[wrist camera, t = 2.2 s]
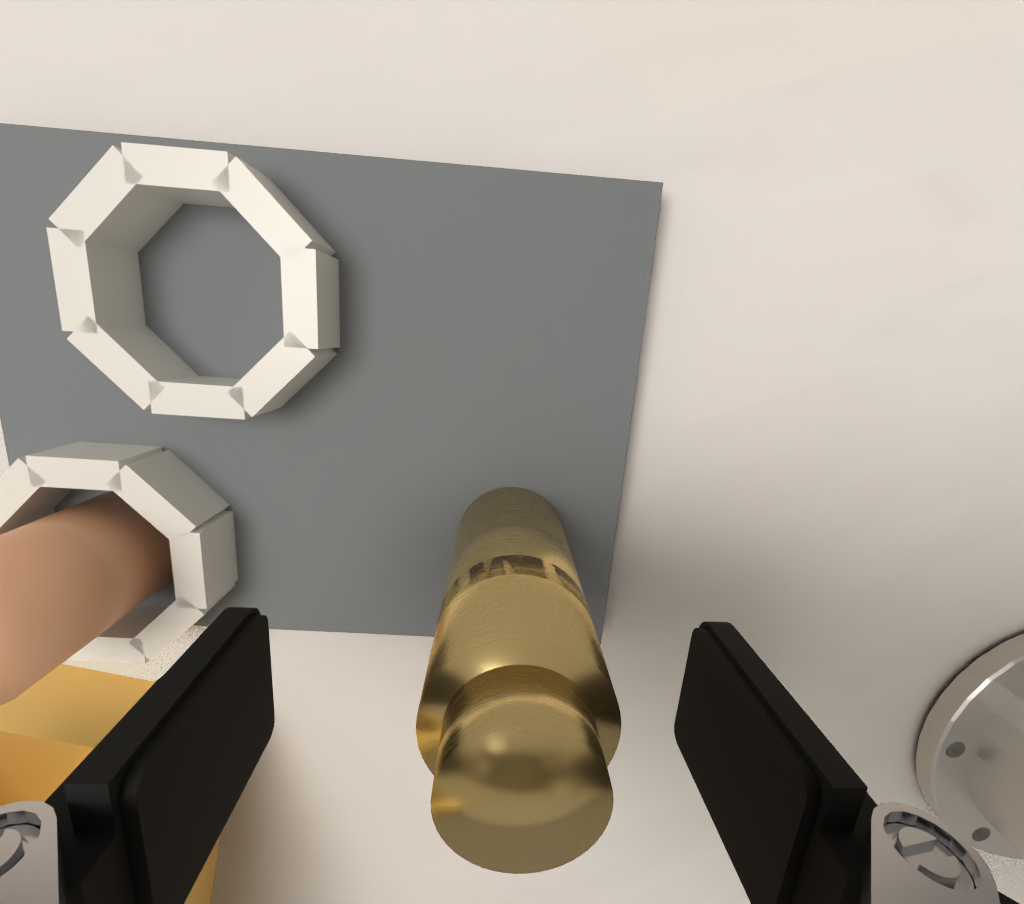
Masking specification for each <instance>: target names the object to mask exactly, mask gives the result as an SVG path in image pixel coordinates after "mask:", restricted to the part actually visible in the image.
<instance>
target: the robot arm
mask: <svg viewBox="0 0 1024 904" xmlns="http://www.w3.org/2000/svg"><path fill="white" fill-rule="evenodd" d="M273 727H274V702H273V687H272V672H271V657H270V641H269V626H268V618H267V616H265V615H260V611H259V609H257V608H249V607H227V608H226V609H225V610H223V611H222V612H221V614H220V615H219V616H218V617H217V618H216V619H215V620H214V621H213V622H212V623H211V624H210V626H209V627H208V628H207V629H206V630H205V631H204V632H203V633H202V634H201V635H200V636H199V637H198V639H197V640H196V641H195V642H194V643H193V644H192V645H191V646H190V647H189V648H188V649H187V650H186V652H185V653H184V654H183V655H182V656H181V657H180V658H179V659H178V660H177V661H176V662H175V664H174V665H173V666H172V667H171V668H170V669H169V670H168V671H167V672H166V673H165V674H164V675H163V676H162V677H161V678H160V679H158V680H157V681H156V682H155V683H154V684H153V685H152V686H151V687H150V688H149V690H148V691H147V692H146V693H145V694H144V695H143V696H142V697H141V698H140V699H139V700H138V701H137V703H136V704H135V705H134V706H133V707H132V708H131V709H130V710H129V711H128V712H127V713H126V714H125V715H124V717H123V718H122V719H121V720H120V721H119V722H118V723H117V724H116V725H115V726H114V727H113V728H112V729H111V731H110V732H109V733H108V734H107V735H106V736H105V737H104V738H103V739H102V740H101V741H100V742H99V744H98V745H97V746H96V747H95V748H94V749H93V750H92V751H91V752H90V753H89V754H88V755H87V756H86V758H85V759H84V760H83V761H82V762H81V763H80V764H79V765H78V766H77V767H76V768H75V769H74V771H73V772H72V773H71V774H70V775H69V776H68V777H67V778H66V779H65V780H64V781H63V782H62V783H61V785H60V786H59V787H58V788H57V789H56V790H55V791H54V792H53V793H52V794H51V795H50V796H49V798H48V799H47V800H46V801H45V802H42V801H30V800H26V801H21V802H15V803H9V804H6V805H3V806H0V904H184V903H185V901H186V899H187V897H188V895H189V893H190V891H191V889H192V888H193V886H194V884H195V882H196V880H197V878H198V876H199V874H200V872H201V870H202V868H203V866H204V865H205V863H206V861H207V859H208V857H209V855H210V853H211V851H212V849H213V847H214V845H215V843H216V841H217V840H218V838H219V836H220V834H221V832H222V830H223V828H224V826H225V824H226V822H227V820H228V818H229V816H230V815H231V813H232V811H233V809H234V807H235V805H236V803H237V801H238V799H239V797H240V795H241V793H242V792H243V790H244V788H245V786H246V784H247V782H248V780H249V778H250V776H251V774H252V772H253V770H254V768H255V767H256V765H257V763H258V761H259V759H260V757H261V755H262V753H263V751H264V749H265V747H266V745H267V744H268V742H269V740H270V737H271V735H272V732H273ZM674 732H675V738H676V741H677V744H678V746H679V749H680V751H681V753H682V755H683V757H684V759H685V762H686V764H687V766H688V768H689V770H690V772H691V775H692V777H693V779H694V781H695V783H696V785H697V788H698V790H699V792H700V794H701V796H702V798H703V801H704V803H705V805H706V807H707V809H708V811H709V813H710V816H711V818H712V820H713V822H714V824H715V826H716V829H717V831H718V833H719V835H720V837H721V839H722V842H723V844H724V846H725V848H726V850H727V852H728V855H729V857H730V859H731V861H732V863H733V865H734V868H735V870H736V872H737V874H738V876H739V878H740V881H741V883H742V885H743V887H744V889H745V891H746V894H747V896H748V898H749V900H750V902H751V904H1019V903H1017V902H1016V901H1014V900H1012V899H1010V898H1009V897H1007V896H1005V895H1004V894H1002V893H1000V892H998V891H997V887H996V883H995V880H994V878H993V876H992V873H991V871H990V869H989V867H988V866H987V864H986V863H985V862H984V860H983V859H982V857H981V856H980V855H979V853H978V852H977V851H976V850H975V849H974V848H973V847H975V848H978V849H980V850H983V851H985V852H988V853H990V854H995V855H1000V856H1005V857H1010V858H1019V859H1024V633H1023V634H1021V635H1018V636H1016V637H1014V638H1011V639H1009V640H1007V641H1005V642H1003V643H1001V644H1000V645H998V646H996V647H995V648H993V649H991V650H990V651H988V652H987V653H985V654H983V655H982V656H980V657H979V658H978V659H976V660H975V661H974V662H973V663H972V664H970V665H969V666H968V667H967V668H966V669H964V670H963V671H962V672H961V673H960V674H958V675H957V677H956V678H955V679H954V680H953V681H952V682H951V683H950V685H949V686H948V687H947V688H946V689H945V690H944V691H943V692H942V694H941V695H940V696H939V698H938V700H937V701H936V703H935V704H934V706H933V708H932V709H931V711H930V712H929V714H928V716H927V718H926V721H925V723H924V726H923V728H922V731H921V733H920V736H919V741H918V747H917V753H916V774H917V780H918V783H919V786H920V789H921V792H922V795H923V797H924V799H925V800H926V802H927V803H928V805H929V806H930V808H931V809H932V811H933V812H934V813H935V814H936V815H937V816H938V817H939V818H940V819H941V820H942V821H943V822H942V821H940V820H938V819H937V818H935V817H933V816H932V815H930V814H928V813H926V812H924V811H922V810H919V809H917V808H914V807H912V806H909V805H906V804H901V803H896V802H888V803H881V804H880V805H877V804H876V803H875V802H874V801H873V799H872V798H871V797H870V796H869V794H868V793H867V792H866V791H867V788H868V787H867V786H866V785H865V784H864V782H863V781H862V780H861V779H860V778H859V776H858V775H857V774H856V773H855V772H854V770H853V769H852V768H851V767H850V766H849V764H848V763H847V762H846V761H845V760H844V758H843V757H842V756H841V755H840V754H839V752H838V751H837V750H836V749H835V748H834V746H833V745H832V744H831V743H830V742H829V740H828V739H827V738H826V737H825V735H824V734H823V733H822V732H821V731H820V729H819V728H818V727H817V726H816V725H815V723H814V722H813V721H812V720H811V719H810V717H809V716H808V715H807V714H806V713H805V711H804V710H803V709H802V708H801V707H800V705H799V704H798V703H797V702H796V701H795V699H794V698H793V697H792V696H791V695H790V693H789V692H788V691H787V690H786V689H785V687H784V686H783V685H782V684H781V683H780V681H779V680H778V679H777V678H776V677H775V675H774V674H773V673H772V672H771V671H770V669H769V668H768V667H767V666H766V665H765V663H764V662H763V661H762V660H761V659H760V657H759V656H758V655H757V654H756V653H755V651H754V650H753V649H752V648H751V647H750V645H749V644H748V643H747V642H746V641H745V639H744V638H743V637H742V636H741V635H740V633H739V632H738V631H737V630H736V629H735V627H734V626H733V625H732V624H731V623H728V622H702V623H701V625H700V627H699V628H695V629H694V630H693V633H692V637H691V642H690V647H689V652H688V658H687V663H686V668H685V673H684V678H683V683H682V688H681V693H680V699H679V704H678V709H677V714H676V719H675V725H674ZM972 846H973V847H972Z"/></svg>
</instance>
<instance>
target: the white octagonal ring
mask: <svg viewBox="0 0 1024 904" xmlns="http://www.w3.org/2000/svg"><path fill="white" fill-rule="evenodd" d="M121 148H122V149H119V148H117V147H115V146H113V145H112V146H111V148H110V149H109V150H108V151H107V152H106V153H105V155H104V156H103V157H102V158H101V159H100V160H99V161H98V163H97V164H96V165H95V166H94V167H93V168H92V169H91V171H90V172H89V173H88V174H87V175H86V176H85V177H84V179H83V180H82V181H81V182H80V183H79V184H78V185H77V187H76V188H75V189H74V190H73V191H72V192H71V194H70V195H69V196H68V197H67V198H66V199H65V200H64V202H63V203H62V204H61V205H60V206H59V207H58V208H57V210H56V211H55V212H54V213H53V214H52V215H51V216H50V218H49V220H50V221H51V222H52V223H53V224H54V225H55V226H56V227H57V228H48V227H46V229H47V235H48V242H49V248H50V255H51V261H52V268H53V274H54V281H55V287H56V294H57V300H58V307H59V313H60V320H61V326H62V331H72V332H73V333H72V334H71V335H70V336H69V337H68V338H67V340H68V341H69V342H71V343H72V344H73V345H74V346H75V347H76V348H77V349H78V350H79V351H80V352H81V353H82V354H84V355H85V356H86V357H87V358H88V359H89V360H90V361H91V362H92V363H93V364H94V365H95V366H97V367H98V368H99V369H100V370H101V371H102V372H103V373H104V374H105V375H106V376H107V377H108V378H110V379H111V380H112V381H113V382H114V383H115V384H116V385H117V386H118V387H119V388H120V389H121V390H123V391H124V392H125V393H126V394H127V395H128V396H129V397H130V398H131V399H132V400H133V401H135V402H136V403H137V404H138V405H139V406H140V407H141V408H142V409H143V410H146V409H151V412H152V414H167V415H182V416H197V417H212V418H227V419H243V420H245V419H248V418H251V417H254V416H257V415H260V414H263V413H266V412H269V411H272V410H275V409H278V408H281V407H282V406H283V405H284V404H285V403H286V402H287V401H288V400H289V399H290V398H292V397H293V396H294V395H295V394H296V393H297V392H298V391H299V390H300V389H301V388H302V387H303V386H304V385H305V384H306V383H307V382H308V381H309V380H310V379H312V378H313V377H314V376H315V375H316V374H317V373H318V372H319V371H320V370H321V369H322V368H323V367H324V366H325V365H326V364H327V363H328V362H329V361H330V360H332V359H333V358H334V357H335V356H336V355H337V353H336V352H335V351H334V350H333V349H332V348H339V347H340V310H339V260H338V259H336V258H334V257H331V256H332V255H333V254H334V253H335V251H334V250H333V249H332V247H331V246H330V245H329V244H328V243H327V242H326V241H325V240H324V239H323V237H322V236H321V235H320V234H319V233H318V232H317V231H316V230H315V228H314V227H313V226H312V225H311V224H310V223H309V222H308V221H307V219H306V218H305V217H304V216H303V215H302V214H301V213H300V212H299V211H298V209H297V208H296V207H295V206H294V205H293V204H292V203H291V202H290V200H289V199H288V198H287V197H286V196H285V195H284V194H283V193H282V192H281V190H280V189H279V188H278V187H277V186H276V185H275V184H274V183H273V181H272V180H271V179H269V178H268V177H266V176H265V175H263V174H262V173H260V172H259V171H257V170H256V169H254V168H253V167H251V166H250V165H248V164H247V163H246V162H244V161H243V160H241V159H240V158H238V157H237V156H236V157H235V156H233V155H232V154H230V153H229V152H227V151H216V150H205V149H194V148H182V147H171V146H160V145H149V144H137V143H126V142H121ZM183 203H184V204H195V205H207V206H219V207H231V208H236V209H237V211H238V212H239V213H240V214H241V215H242V216H243V217H244V218H245V219H246V220H247V221H248V222H249V224H250V225H251V226H252V227H253V228H254V229H255V230H256V231H257V232H258V233H259V234H260V235H261V236H262V238H263V239H264V240H265V241H266V242H267V243H268V244H269V245H270V246H271V247H272V248H273V249H274V251H275V252H276V253H277V254H278V255H279V256H280V261H281V284H282V307H283V330H284V337H283V338H282V339H281V340H280V341H279V342H278V343H277V344H276V345H275V346H274V347H273V348H272V349H271V350H270V351H269V352H268V353H267V354H266V355H265V356H264V357H263V358H262V359H261V360H260V361H259V362H258V363H257V364H256V365H255V366H254V367H253V368H252V369H251V370H250V371H249V372H248V373H247V374H246V375H245V376H244V377H243V378H242V379H239V378H224V377H210V376H198V375H197V374H196V373H195V372H194V371H193V370H192V369H191V368H190V367H189V366H188V365H187V364H186V363H185V362H184V361H183V360H182V359H181V358H180V357H179V356H178V355H177V354H176V353H175V352H174V351H173V350H171V349H170V348H169V347H168V346H167V345H166V344H165V343H164V342H163V341H162V340H161V339H160V338H159V337H158V336H157V335H156V334H155V333H154V332H153V331H152V330H151V329H150V328H149V327H148V326H147V325H146V322H145V313H144V304H143V295H142V286H141V277H140V268H139V259H138V252H139V251H140V250H141V249H142V248H143V247H144V246H145V245H146V244H147V243H148V241H149V240H150V239H151V238H152V237H153V236H154V235H155V234H156V233H157V232H158V231H159V230H160V228H161V227H162V226H163V225H164V224H165V223H166V222H167V221H168V220H169V219H170V218H171V217H172V215H173V214H174V213H175V212H176V211H177V210H178V209H179V208H180V207H181V206H182V205H183Z"/></svg>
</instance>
